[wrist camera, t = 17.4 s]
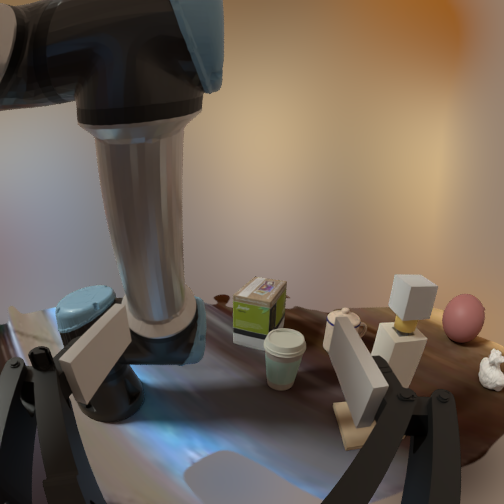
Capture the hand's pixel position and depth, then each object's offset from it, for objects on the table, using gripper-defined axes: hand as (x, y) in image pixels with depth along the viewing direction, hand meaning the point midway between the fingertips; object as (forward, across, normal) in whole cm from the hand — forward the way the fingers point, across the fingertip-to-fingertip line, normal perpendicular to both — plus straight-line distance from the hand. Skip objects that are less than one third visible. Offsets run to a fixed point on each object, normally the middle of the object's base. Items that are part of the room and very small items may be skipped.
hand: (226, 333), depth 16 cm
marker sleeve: (+17, +25, -21) cm, 37 cm away
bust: (+20, +62, -32) cm, 73 cm away
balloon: (+43, +70, -32) cm, 88 cm away
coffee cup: (+32, +8, -32) cm, 46 cm away
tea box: (+52, +4, -32) cm, 61 cm away
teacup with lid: (+46, +27, -32) cm, 62 cm away
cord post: (+18, +24, -32) cm, 44 cm away
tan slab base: (+18, +24, -32) cm, 44 cm away
